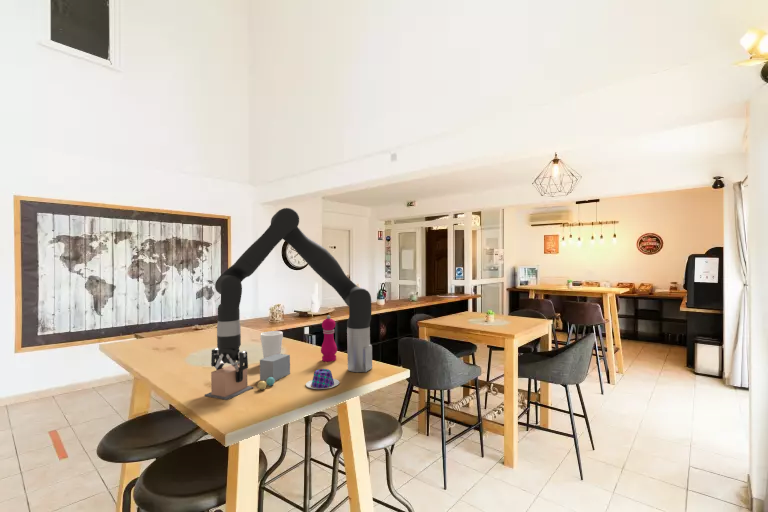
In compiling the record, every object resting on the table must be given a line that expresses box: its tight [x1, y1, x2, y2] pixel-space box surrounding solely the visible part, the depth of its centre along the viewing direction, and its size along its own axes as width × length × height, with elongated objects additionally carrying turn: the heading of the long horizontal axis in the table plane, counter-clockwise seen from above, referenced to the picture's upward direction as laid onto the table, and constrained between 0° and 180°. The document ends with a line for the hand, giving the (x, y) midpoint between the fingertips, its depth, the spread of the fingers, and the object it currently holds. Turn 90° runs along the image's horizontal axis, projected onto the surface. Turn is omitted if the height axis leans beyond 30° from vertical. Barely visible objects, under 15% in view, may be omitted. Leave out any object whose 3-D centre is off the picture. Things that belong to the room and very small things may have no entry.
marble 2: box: [265, 377, 276, 387], centre depth 136 cm, size 3×3×3 cm
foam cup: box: [259, 330, 284, 359], centre depth 165 cm, size 10×9×13 cm
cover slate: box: [259, 353, 291, 382], centre depth 146 cm, size 6×10×8 cm, turn 157°
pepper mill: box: [320, 314, 338, 363], centre depth 169 cm, size 7×7×20 cm
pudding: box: [305, 368, 340, 390], centre depth 136 cm, size 12×12×5 cm
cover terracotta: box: [210, 364, 249, 397], centre depth 130 cm, size 6×10×8 cm, turn 157°
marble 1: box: [257, 380, 268, 391], centre depth 132 cm, size 3×3×3 cm
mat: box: [204, 385, 254, 401], centre depth 130 cm, size 10×12×1 cm
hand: (229, 380), depth 130 cm, fingers open, 8 cm apart
